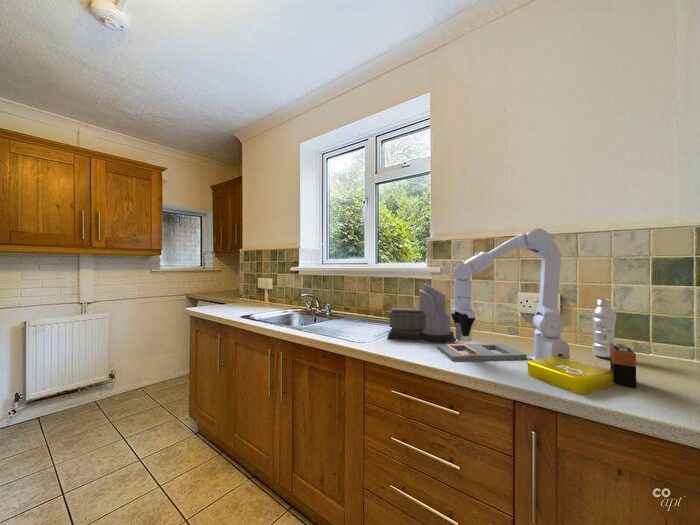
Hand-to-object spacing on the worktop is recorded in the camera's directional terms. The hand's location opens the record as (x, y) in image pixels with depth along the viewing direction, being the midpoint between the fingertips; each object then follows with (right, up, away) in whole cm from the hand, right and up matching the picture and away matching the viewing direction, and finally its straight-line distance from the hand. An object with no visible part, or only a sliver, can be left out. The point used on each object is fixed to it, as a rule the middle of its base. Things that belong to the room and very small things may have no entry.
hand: (462, 334), depth 102 cm
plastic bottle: (+47, -7, -4) cm, 48 cm away
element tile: (+20, -7, -23) cm, 32 cm away
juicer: (-9, -8, +23) cm, 26 cm away
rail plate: (+6, -7, 0) cm, 9 cm away
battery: (+33, -7, -25) cm, 42 cm away
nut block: (0, -2, 0) cm, 2 cm away
